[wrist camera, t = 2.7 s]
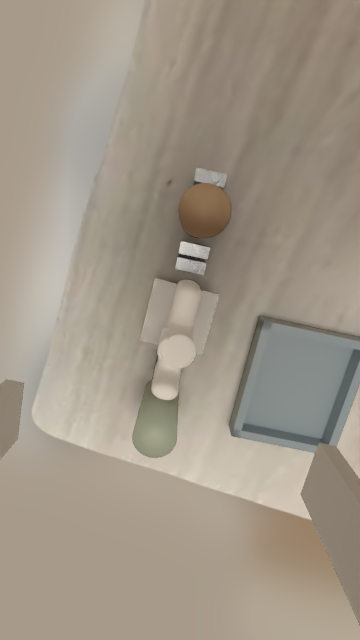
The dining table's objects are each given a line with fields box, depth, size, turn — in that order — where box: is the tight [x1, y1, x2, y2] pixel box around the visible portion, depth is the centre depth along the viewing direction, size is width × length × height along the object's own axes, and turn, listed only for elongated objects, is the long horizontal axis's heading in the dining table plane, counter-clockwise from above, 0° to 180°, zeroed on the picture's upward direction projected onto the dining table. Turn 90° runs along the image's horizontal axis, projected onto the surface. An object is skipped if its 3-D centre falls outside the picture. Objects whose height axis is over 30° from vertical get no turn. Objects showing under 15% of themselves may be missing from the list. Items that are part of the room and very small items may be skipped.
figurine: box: [140, 278, 220, 400], centre depth 33 cm, size 7×9×15 cm
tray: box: [229, 316, 360, 453], centre depth 41 cm, size 15×13×2 cm
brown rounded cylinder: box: [179, 183, 231, 238], centre depth 33 cm, size 4×4×10 cm
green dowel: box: [132, 380, 179, 458], centre depth 38 cm, size 4×4×10 cm
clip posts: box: [151, 168, 227, 386], centre depth 38 cm, size 30×3×5 cm, turn 168°
